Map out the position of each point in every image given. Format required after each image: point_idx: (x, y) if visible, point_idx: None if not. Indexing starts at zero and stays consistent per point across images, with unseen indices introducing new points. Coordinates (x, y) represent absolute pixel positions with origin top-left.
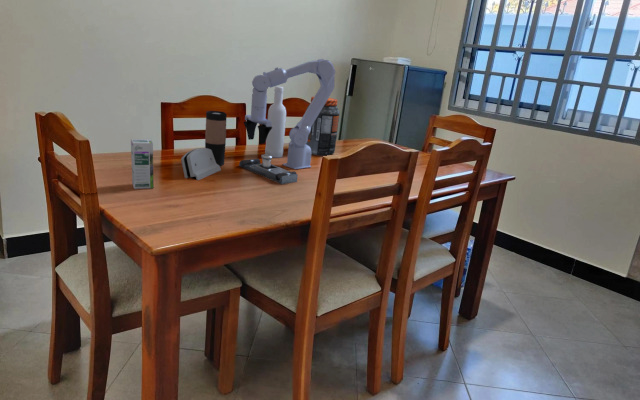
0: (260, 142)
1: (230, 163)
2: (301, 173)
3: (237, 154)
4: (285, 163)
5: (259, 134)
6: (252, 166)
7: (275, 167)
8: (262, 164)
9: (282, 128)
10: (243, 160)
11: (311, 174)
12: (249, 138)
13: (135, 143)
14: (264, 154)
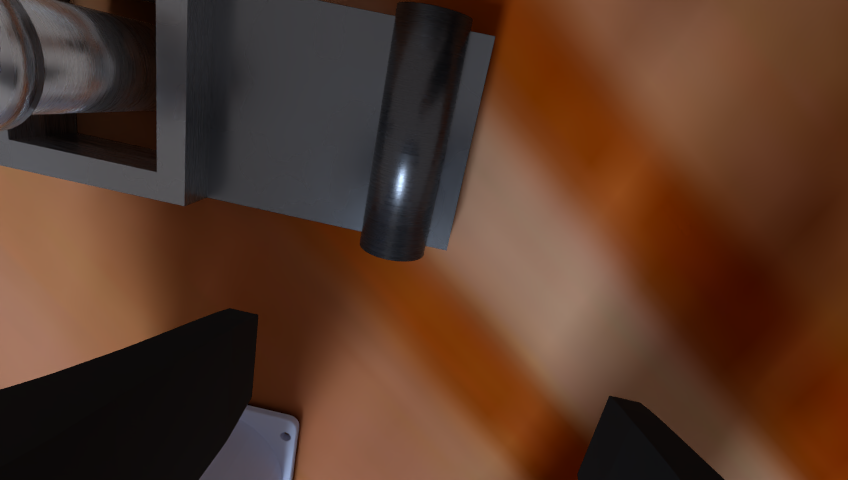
0: (218, 313)
1: (633, 38)
2: (48, 340)
3: (818, 389)
4: (287, 446)
5: (94, 405)
6: (289, 43)
7: (50, 146)
8: (67, 3)
9: None
10: (419, 25)
11: (4, 377)
12: (617, 415)
13: None
14: (6, 71)
